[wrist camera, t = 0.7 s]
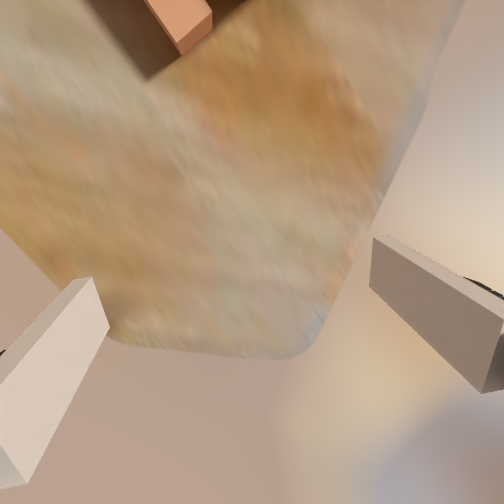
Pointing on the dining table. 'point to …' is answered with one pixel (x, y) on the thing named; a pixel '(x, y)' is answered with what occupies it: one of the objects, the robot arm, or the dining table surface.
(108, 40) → the dining table surface
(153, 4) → the block
